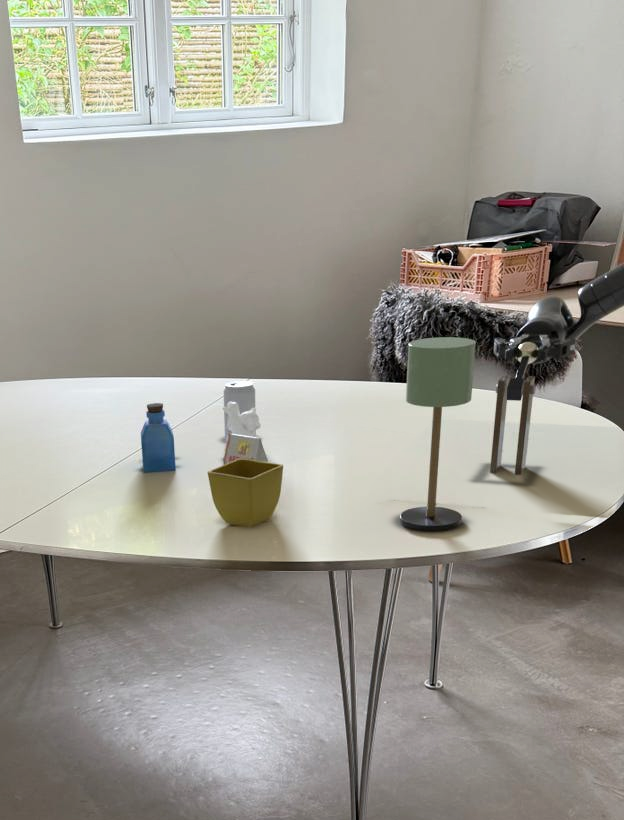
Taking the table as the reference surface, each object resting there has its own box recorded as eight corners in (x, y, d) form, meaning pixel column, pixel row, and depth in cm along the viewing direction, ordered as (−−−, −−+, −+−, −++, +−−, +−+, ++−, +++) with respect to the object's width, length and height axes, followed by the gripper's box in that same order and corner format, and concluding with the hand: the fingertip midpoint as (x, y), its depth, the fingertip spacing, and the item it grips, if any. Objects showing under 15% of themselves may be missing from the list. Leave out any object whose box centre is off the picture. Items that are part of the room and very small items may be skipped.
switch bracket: (488, 467, 169) (497, 371, 161) (536, 471, 165) (547, 372, 157) (476, 484, 161) (485, 383, 153) (526, 488, 157) (537, 385, 150)
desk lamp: (442, 512, 149) (454, 335, 138) (472, 530, 142) (488, 343, 130) (389, 520, 148) (397, 341, 136) (417, 538, 140) (428, 350, 128)
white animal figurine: (234, 471, 178) (232, 407, 173) (212, 464, 183) (210, 402, 178) (268, 461, 182) (268, 398, 177) (246, 455, 187) (244, 394, 182)
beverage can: (229, 437, 200) (227, 380, 195) (259, 438, 198) (258, 380, 193) (221, 445, 195) (219, 386, 190) (252, 446, 193) (250, 386, 188)
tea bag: (237, 486, 169) (236, 431, 165) (268, 492, 165) (267, 435, 160) (224, 492, 167) (222, 435, 163) (254, 498, 163) (253, 440, 158)
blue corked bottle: (175, 470, 182) (171, 407, 176) (143, 472, 182) (138, 409, 176) (174, 461, 187) (170, 400, 182) (142, 463, 187) (138, 402, 182)
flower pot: (208, 525, 152) (205, 471, 148) (241, 510, 157) (239, 457, 153) (252, 535, 146) (251, 479, 142) (285, 519, 152) (285, 464, 148)
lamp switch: (518, 355, 164) (518, 337, 162) (540, 355, 163) (541, 337, 160) (502, 403, 158) (502, 385, 155) (525, 404, 156) (525, 385, 153)
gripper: (580, 360, 171) (567, 380, 158) (497, 359, 177) (478, 377, 164) (585, 317, 168) (573, 333, 154) (501, 317, 174) (482, 332, 161)
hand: (524, 356), depth 159 cm, fingers open, 4 cm apart
